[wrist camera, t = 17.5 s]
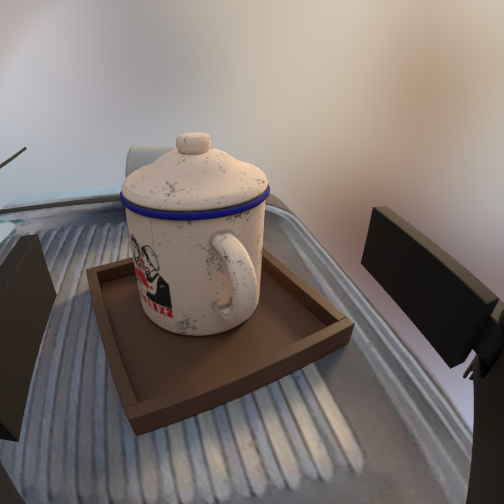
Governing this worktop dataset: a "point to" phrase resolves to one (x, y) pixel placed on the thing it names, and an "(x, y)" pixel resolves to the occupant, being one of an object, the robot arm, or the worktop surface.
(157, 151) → the ceramic mug
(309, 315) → the rectangular tray
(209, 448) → the worktop surface
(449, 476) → the worktop surface
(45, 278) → the robot arm
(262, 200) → the teacup with lid
